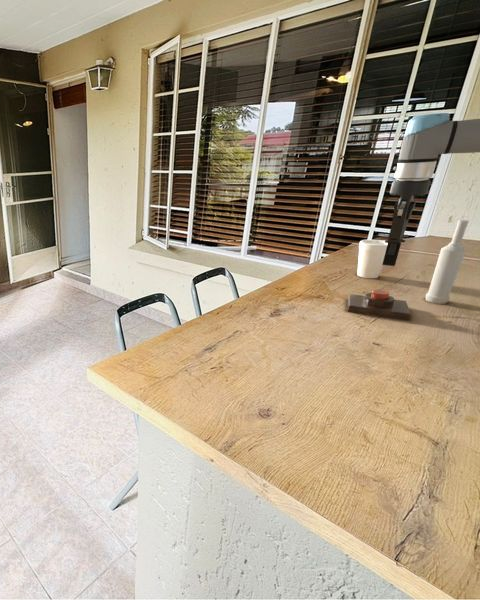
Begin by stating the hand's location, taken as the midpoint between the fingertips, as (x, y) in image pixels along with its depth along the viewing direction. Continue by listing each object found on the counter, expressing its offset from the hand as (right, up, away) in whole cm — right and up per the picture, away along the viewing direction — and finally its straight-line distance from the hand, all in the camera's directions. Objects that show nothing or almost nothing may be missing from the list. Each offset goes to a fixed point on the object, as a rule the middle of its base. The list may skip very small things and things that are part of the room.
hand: (388, 264), depth 101 cm
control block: (+1, -13, +5) cm, 14 cm away
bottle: (+22, -11, +8) cm, 26 cm away
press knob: (+1, -10, +4) cm, 11 cm away
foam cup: (+21, -1, +33) cm, 39 cm away
